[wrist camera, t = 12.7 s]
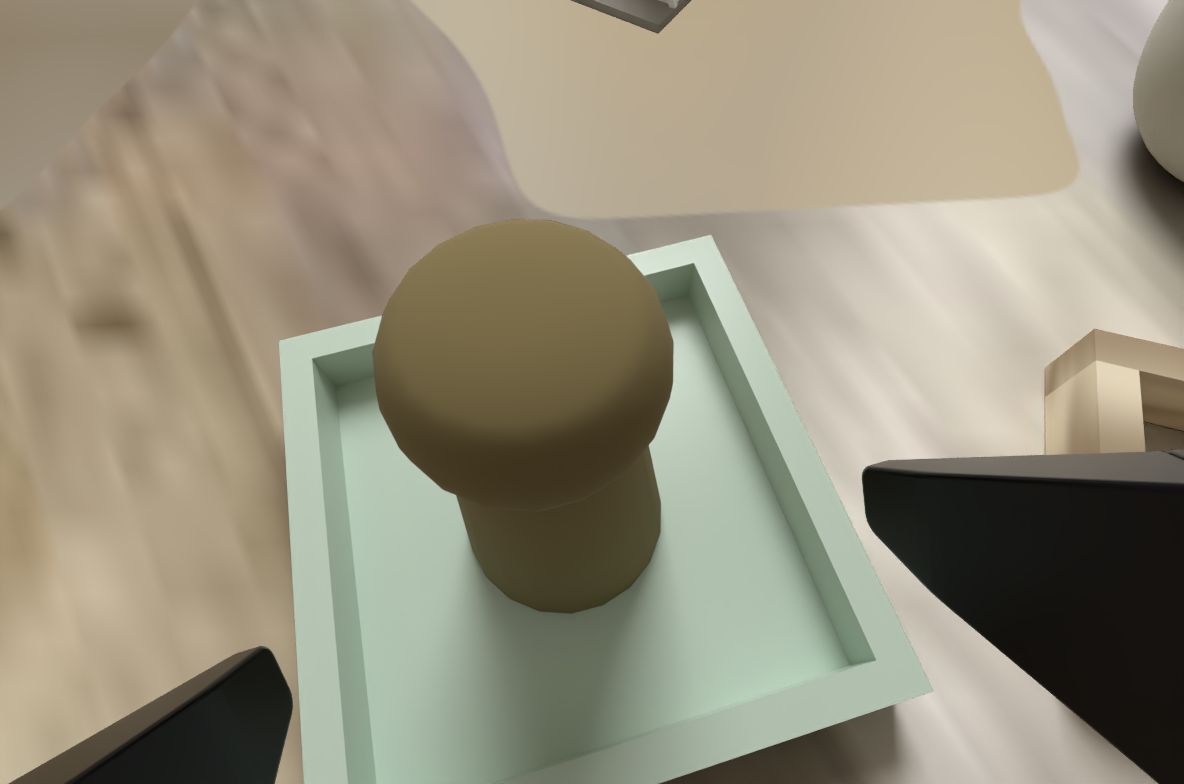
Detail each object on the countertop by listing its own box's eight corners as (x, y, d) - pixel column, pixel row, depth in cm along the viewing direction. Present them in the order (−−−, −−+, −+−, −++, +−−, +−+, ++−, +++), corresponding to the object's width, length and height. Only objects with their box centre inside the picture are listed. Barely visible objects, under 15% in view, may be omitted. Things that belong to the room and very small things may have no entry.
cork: (696, 562, 18) (790, 394, 9) (505, 649, 17) (365, 572, 8) (613, 397, 21) (612, 124, 11) (444, 464, 20) (281, 230, 10)
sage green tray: (892, 693, 17) (934, 690, 15) (353, 873, 16) (311, 900, 13) (701, 278, 24) (710, 234, 22) (312, 377, 22) (279, 340, 20)
